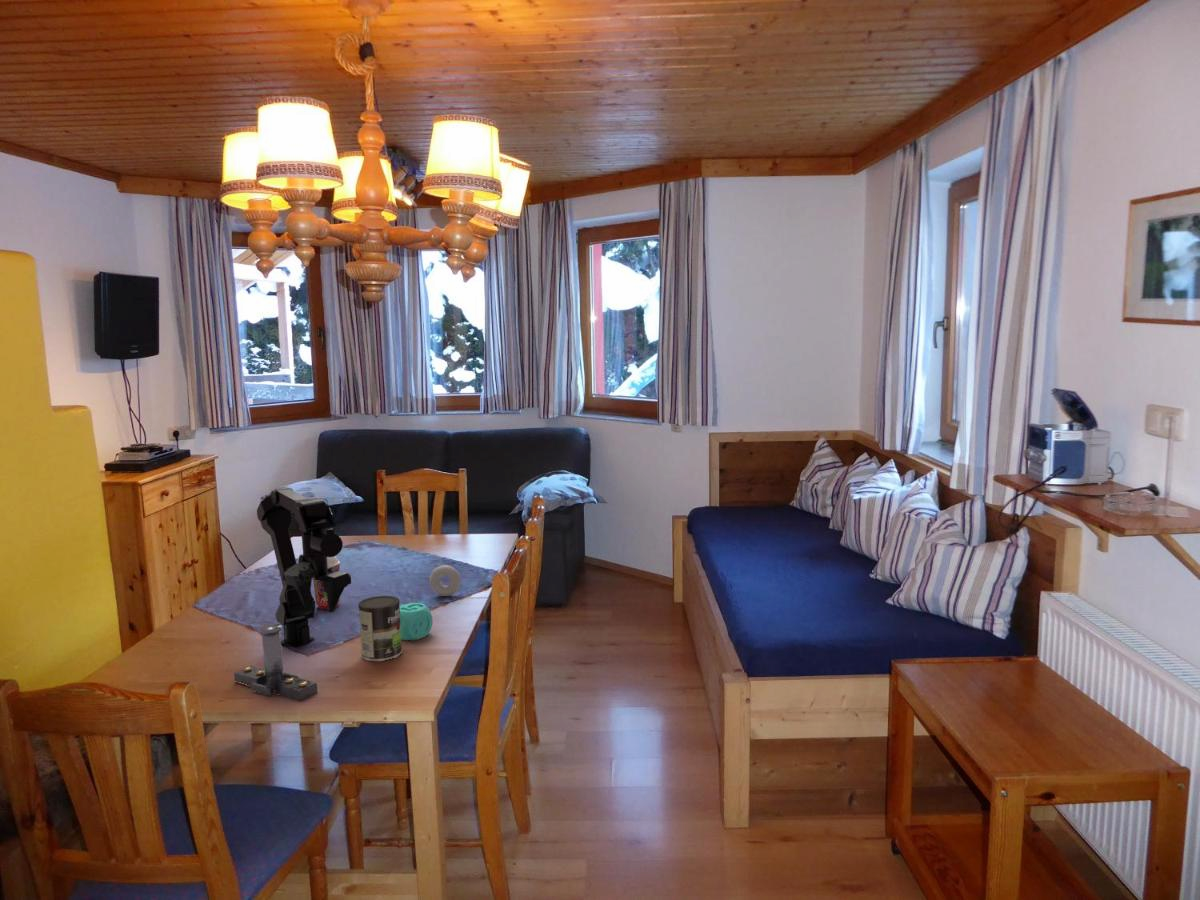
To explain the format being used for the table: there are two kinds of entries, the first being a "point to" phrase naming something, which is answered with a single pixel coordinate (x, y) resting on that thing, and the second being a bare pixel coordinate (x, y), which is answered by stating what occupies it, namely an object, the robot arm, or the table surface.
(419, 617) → the teal rolled towel
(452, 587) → the donut
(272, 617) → the table surface
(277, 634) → the link pin
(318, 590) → the smoothie
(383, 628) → the coffee can
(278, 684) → the riveted post bracket
